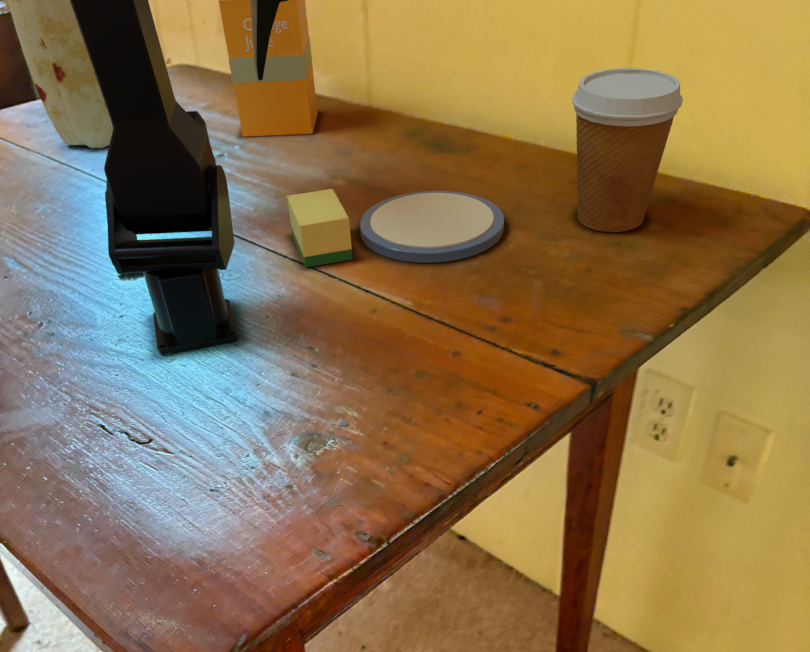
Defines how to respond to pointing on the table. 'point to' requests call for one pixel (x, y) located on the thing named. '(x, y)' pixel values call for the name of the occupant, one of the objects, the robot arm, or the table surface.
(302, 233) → the sponge
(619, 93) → the disposable coffee cup
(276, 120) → the orange juice
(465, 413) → the table surface
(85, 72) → the food model
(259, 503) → the table surface
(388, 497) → the table surface
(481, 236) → the plate
